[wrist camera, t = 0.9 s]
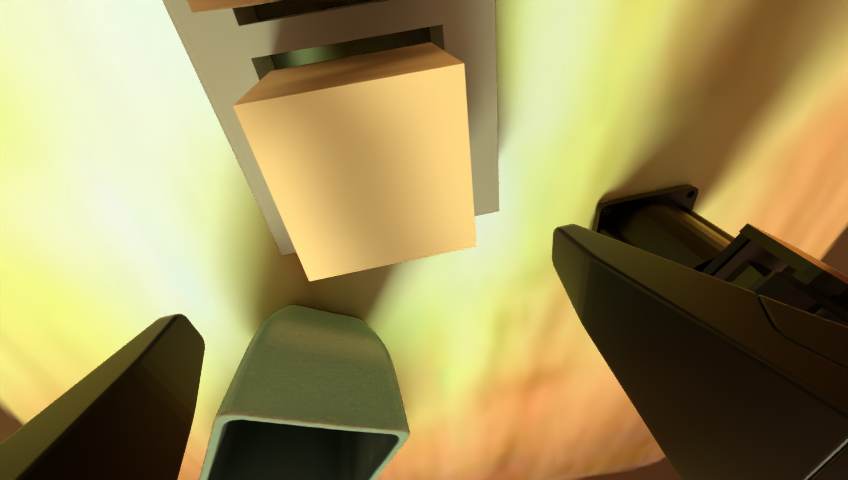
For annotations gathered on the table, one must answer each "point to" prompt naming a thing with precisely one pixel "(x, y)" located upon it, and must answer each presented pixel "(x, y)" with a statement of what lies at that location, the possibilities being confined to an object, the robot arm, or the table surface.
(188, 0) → the tan block
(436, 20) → the grey rectangular tray
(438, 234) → the light brown block
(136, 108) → the table surface
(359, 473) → the flower pot
